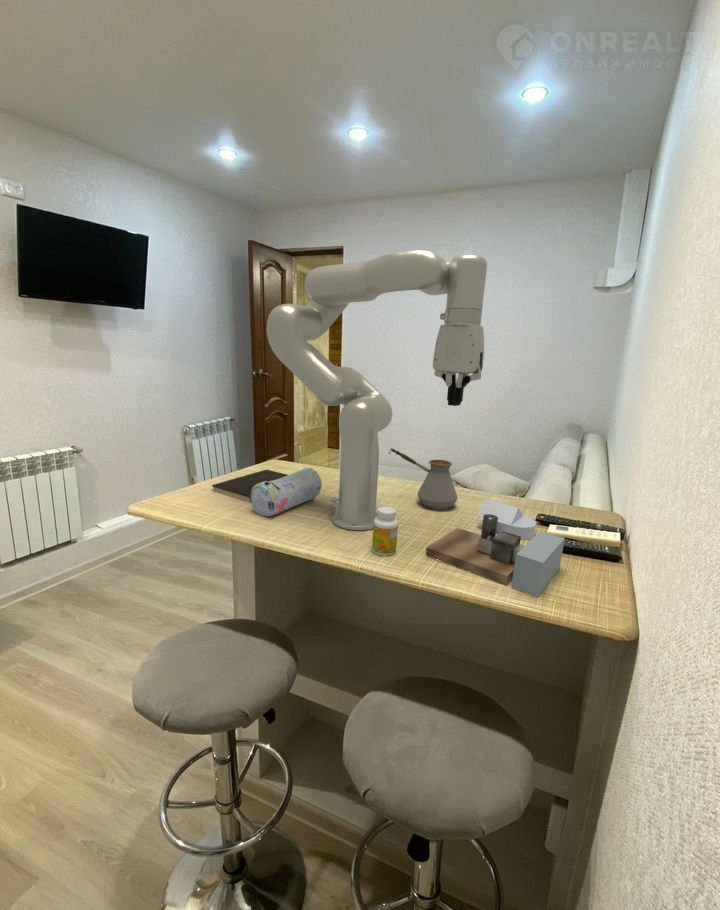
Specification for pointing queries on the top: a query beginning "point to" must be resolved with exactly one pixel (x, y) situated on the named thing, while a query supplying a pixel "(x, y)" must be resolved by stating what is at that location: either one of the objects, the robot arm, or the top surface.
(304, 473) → the pencil case
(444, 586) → the top surface
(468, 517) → the top surface
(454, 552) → the door panel
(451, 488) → the coffee pot
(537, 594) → the block
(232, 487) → the hardcover book
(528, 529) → the wedge on round base
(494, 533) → the bolt
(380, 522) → the supplement bottle
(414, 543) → the top surface
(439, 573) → the top surface
